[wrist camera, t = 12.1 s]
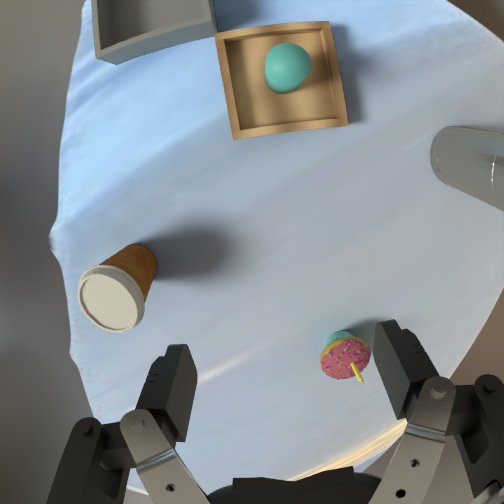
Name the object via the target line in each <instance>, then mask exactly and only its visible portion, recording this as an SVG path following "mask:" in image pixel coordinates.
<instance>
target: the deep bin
mask: <svg viewBox="0 0 504 504" xmlns="http://www.w3.org/2000/svg"><path fill="white" fill-rule="evenodd" d="M91 1H92V21H93V35H94V46H95V56H96V58H97V59H100V60H103V61H106V62H109V63H112V64H115V65H117V64H120V63H122V62H125V61H128V60H131V59H133V58H136V57H139V56H142V55H145V54H148V53H151V52H154V51H158V50H161V49H164V48H168V47H171V46H175V45H179V44H182V43H186V42H190V41H194V40H198V39H203V38H207V37H212V36H214V34H215V33H218V28H217V23H216V17H215V12H214V6H213V1H212V0H91Z"/></svg>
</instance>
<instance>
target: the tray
mask: <svg viewBox="0 0 504 504" xmlns="http://www.w3.org/2000/svg"><path fill="white" fill-rule="evenodd" d="M214 36H215V42H216V47H217V53H218V59H219V64H220V70H221V75H222V81H223V86H224V92H225V97H226V103H227V109H228V114H229V120H230V125H231V131H232V136H233V140H236V139H241V138H248V137H254V136H260V135H267V134H274V133H282V132H289V131H298V130H307V129H317V128H327V127H340V126H348V120H347V113H346V106H345V99H344V93H343V87H342V81H341V75H340V70H339V65H338V59H337V54H336V50H335V45H334V40H333V36H332V31H331V27H330V23H329V21H316V22H296V23H283V24H273V25H264V26H256V27H249V28H243V29H236V30H231V31H225V32H220V33H215V34H214ZM281 43H293V44H296V45H299V46H300V47H302V48H303V49H305V50H306V52H307V53H308V54H309V56H310V58H311V63H312V67H311V71H310V73H309V75H308V76H307V77H306V78H305V79H304V81H303V82H302V83H301V84H300V85H299V86H298V87H297V89H296V90H294V91H293V92H291V93H289V94H277V93H275V92H273V91H271V90H270V89H269V88H268V87H267V85H266V83H265V60H266V56H267V54H268V52H269V51H270V50H271V49H272V48H273V47H274V46H276V45H278V44H281Z"/></svg>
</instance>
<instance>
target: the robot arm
mask: <svg viewBox="0 0 504 504" xmlns="http://www.w3.org/2000/svg"><path fill="white" fill-rule="evenodd" d="M431 163H432V167H433V170H434V172H435V174H436V175H437V177H438V178H439V179H440V180H441V181H442V182H443V183H445V184H447V185H449V186H451V187H454V188H456V189H458V190H460V191H462V192H465V193H467V194H469V195H471V196H473V197H475V198H478V199H480V200H482V201H484V202H486V203H488V204H490V205H492V206H494V207H496V208H498V209H500V210H502V211H504V134H501V133H495V132H489V131H483V130H476V129H469V128H461V127H446V128H444V129H443V130H441V131H440V132H439V133H438V134H437V136H436V137H435V139H434V141H433V144H432V148H431ZM373 355H374V361H375V364H376V366H377V369H378V371H379V374H380V376H381V379H382V381H383V384H384V386H385V389H386V391H387V394H388V397H389V399H390V402H391V405H392V407H393V410H394V413H395V415H396V418H397V420H399V419H403V418H406V420H407V422H408V424H407V426H406V428H405V431H404V433H403V435H402V438H401V440H400V442H399V444H398V446H397V449H396V451H395V453H394V455H393V457H392V459H391V461H390V463H389V465H388V467H387V469H386V471H385V472H384V474H383V476H382V478H379V477H377V476H374V475H371V474H366V473H358V472H354V469H353V466H350V467H344V468H339V469H333V470H327V471H323V472H320V473H317V474H314V475H312V476H309V477H306V478H303V479H300V480H297V481H284V480H277V479H270V478H264V477H257V478H233V485H229V486H226V487H223V488H220V489H218V490H216V491H214V492H212V493H210V494H209V495H207V494H206V492H205V491H204V490H203V489H202V487H201V486H200V485H199V483H198V482H197V481H196V479H195V478H194V477H193V475H192V474H191V472H190V471H189V470H188V468H187V467H186V465H185V464H184V462H183V461H182V459H181V458H180V456H179V455H178V453H177V452H176V450H175V445H176V442H185V440H186V435H187V430H188V425H189V420H190V415H191V410H192V405H193V400H194V395H195V390H196V385H197V370H196V367H195V364H194V361H193V358H192V356H191V353H190V350H189V347H188V345H187V344H174V345H169V346H168V348H167V351H166V354H165V356H159V357H158V358H157V359H156V360H155V361H154V363H153V364H152V365H151V367H150V370H149V373H148V375H147V378H146V383H144V386H143V389H142V391H141V394H140V397H139V400H138V402H137V405H136V408H135V410H132V411H129V412H128V413H126V414H125V415H124V416H123V417H122V419H121V421H120V422H115V423H109V424H103V425H102V424H101V423H100V422H99V421H98V420H97V419H96V418H92V417H86V418H83V419H81V420H79V421H78V422H77V423H76V424H75V425H74V427H73V429H72V432H71V434H70V437H69V439H68V442H67V445H66V447H65V450H64V453H63V455H62V458H61V461H60V464H59V466H58V469H57V472H56V475H55V478H54V481H53V484H52V487H51V490H50V493H49V496H48V500H47V503H46V504H123V501H124V496H125V491H126V486H127V481H128V477H129V472H130V468H136V471H137V473H138V475H139V477H140V479H141V481H142V483H143V485H144V487H145V489H146V490H147V492H148V494H149V496H150V497H151V499H152V501H153V503H154V504H421V503H422V501H423V499H424V497H425V494H426V492H427V490H428V487H429V485H430V483H431V480H432V478H433V475H434V473H435V470H436V468H437V465H438V462H439V459H440V457H441V454H442V450H443V448H444V445H445V441H446V436H447V435H454V437H455V440H456V443H457V445H458V448H459V451H460V454H461V457H462V460H463V463H464V466H465V469H466V472H467V476H468V479H469V482H470V485H471V489H472V492H473V495H474V499H473V500H472V502H471V503H470V504H504V384H503V383H502V381H501V380H500V379H499V378H498V377H496V376H494V375H490V374H485V375H482V376H480V377H478V379H477V380H476V381H475V384H474V385H454V384H453V383H452V381H451V380H449V379H448V378H445V377H441V376H440V375H439V374H438V372H437V370H436V368H435V367H434V365H433V363H432V362H431V360H430V358H429V356H428V355H427V353H426V352H425V350H424V348H423V346H422V345H421V343H420V341H419V340H418V338H417V337H416V335H415V334H414V333H412V332H411V331H409V330H408V329H403V330H401V328H400V327H399V325H398V323H397V322H396V320H394V319H393V320H388V321H382V322H378V323H377V325H376V333H375V341H374V348H373Z"/></svg>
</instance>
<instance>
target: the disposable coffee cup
mask: <svg viewBox="0 0 504 504" xmlns="http://www.w3.org/2000/svg"><path fill="white" fill-rule="evenodd" d="M156 270H157V262H156V259H155V256H154V255H153V253H152V252H151V251H150V250H149V249H148V248H146V247H145V246H143V245H140V244H131V245H128V246H126V247H125V248H123V249H122V250H120V251H119V252H117V253H116V254H114V255H113V256H111V257H110V258H108V259H107V260H105V261H104V262H102V263H101V264H99V265H97V266H93V267H91V268H89V269H87V270H86V271H85V272H84V273H83V274H82V276H81V278H80V281H79V286H78V291H77V297H78V302H79V305H80V307H81V309H82V311H83V312H84V314H85V315H86V317H87V318H88V319H89V320H90V321H91V322H92V323H93V324H95V325H96V326H98V327H99V328H101V329H103V330H106V331H109V332H114V333H121V332H125V331H128V330H129V329H131V328H133V327H135V326H136V325H138V324H139V323H140V321H141V320H142V318H143V315H144V311H145V306H144V303H145V301H146V297H147V295H148V292H149V289H150V287H151V284H152V281H153V278H154V275H155V273H156Z"/></svg>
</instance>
